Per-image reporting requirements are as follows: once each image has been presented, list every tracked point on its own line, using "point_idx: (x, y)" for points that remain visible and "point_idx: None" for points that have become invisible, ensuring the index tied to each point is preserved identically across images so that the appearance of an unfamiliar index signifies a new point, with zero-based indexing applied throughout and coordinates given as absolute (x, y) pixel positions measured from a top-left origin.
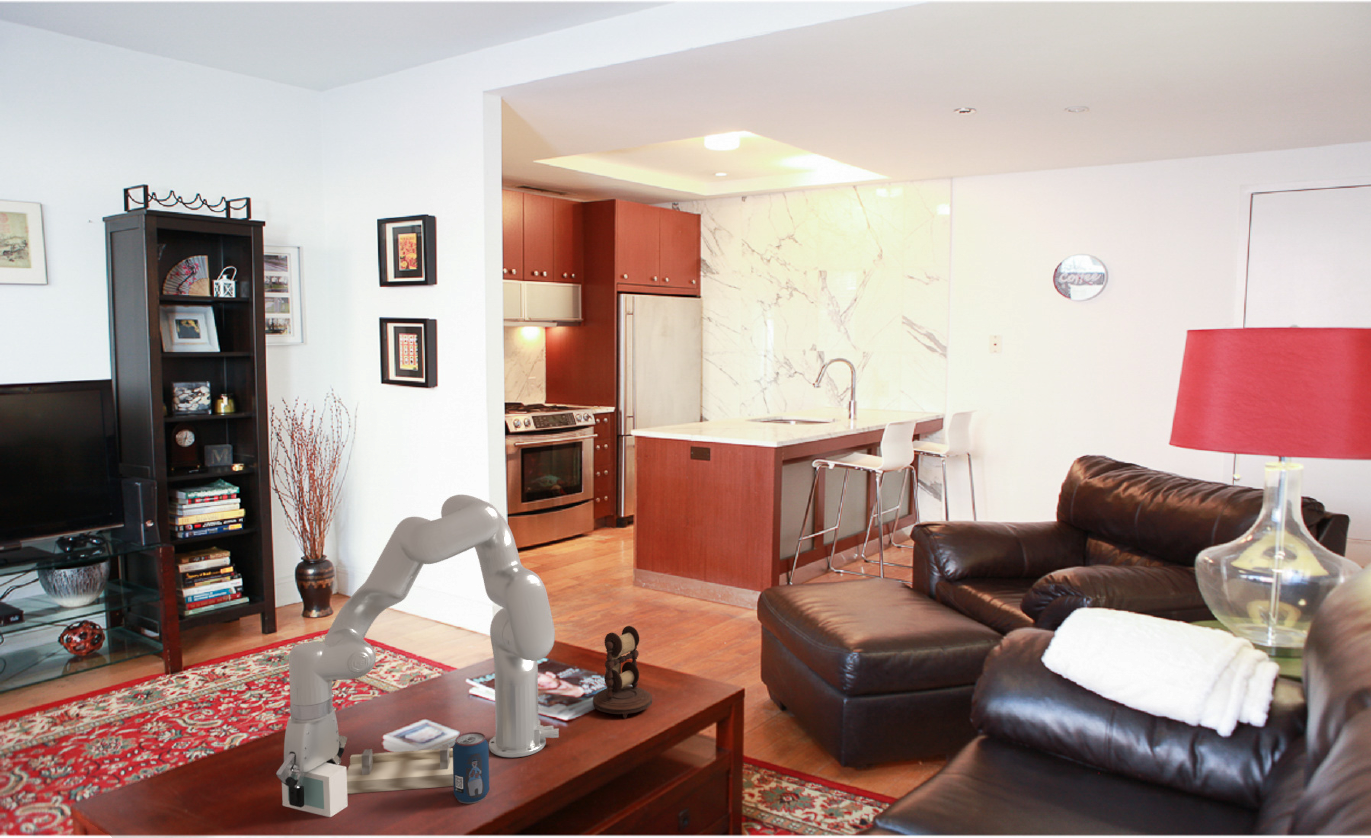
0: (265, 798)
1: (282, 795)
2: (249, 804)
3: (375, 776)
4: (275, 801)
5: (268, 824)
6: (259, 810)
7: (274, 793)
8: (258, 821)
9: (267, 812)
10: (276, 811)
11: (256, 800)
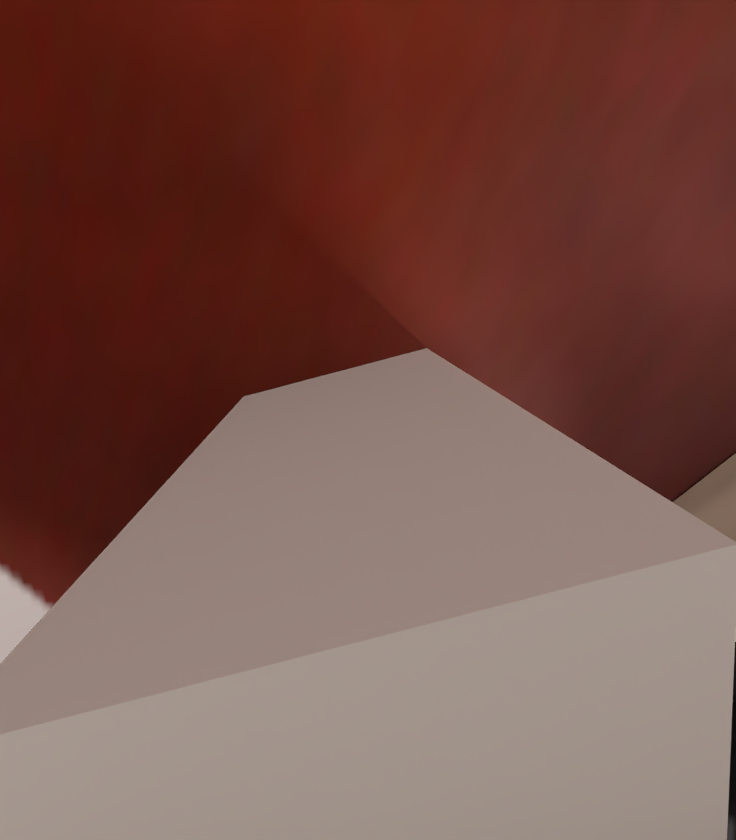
0: (194, 121)
1: (219, 426)
2: (25, 99)
3: None
4: (235, 271)
5: (52, 565)
6: (67, 311)
7: (302, 94)
8: (4, 475)
9: (108, 400)
10: (168, 441)
11: (110, 76)
